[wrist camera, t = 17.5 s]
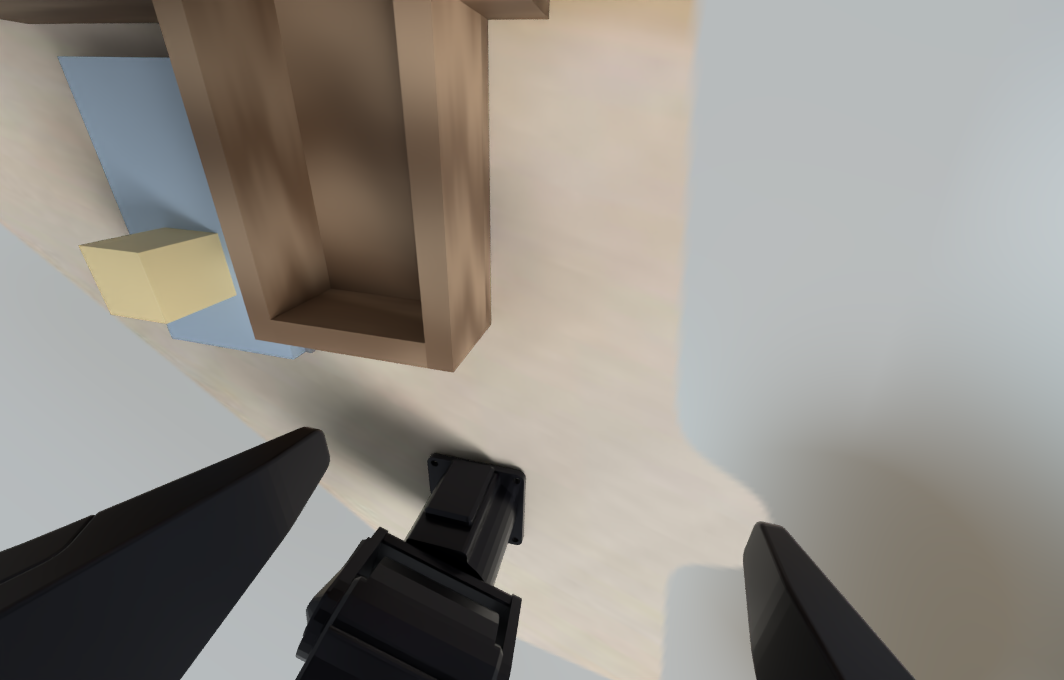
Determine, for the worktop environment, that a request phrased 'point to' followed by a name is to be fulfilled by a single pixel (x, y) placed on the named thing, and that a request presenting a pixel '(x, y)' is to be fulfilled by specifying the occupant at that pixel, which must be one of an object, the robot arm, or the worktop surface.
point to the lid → (159, 207)
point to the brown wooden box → (339, 159)
